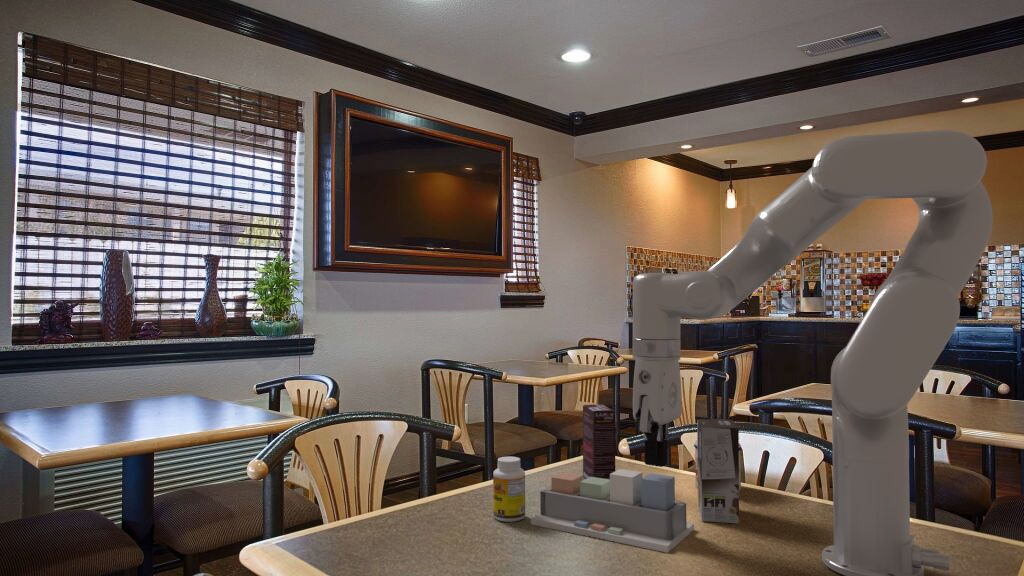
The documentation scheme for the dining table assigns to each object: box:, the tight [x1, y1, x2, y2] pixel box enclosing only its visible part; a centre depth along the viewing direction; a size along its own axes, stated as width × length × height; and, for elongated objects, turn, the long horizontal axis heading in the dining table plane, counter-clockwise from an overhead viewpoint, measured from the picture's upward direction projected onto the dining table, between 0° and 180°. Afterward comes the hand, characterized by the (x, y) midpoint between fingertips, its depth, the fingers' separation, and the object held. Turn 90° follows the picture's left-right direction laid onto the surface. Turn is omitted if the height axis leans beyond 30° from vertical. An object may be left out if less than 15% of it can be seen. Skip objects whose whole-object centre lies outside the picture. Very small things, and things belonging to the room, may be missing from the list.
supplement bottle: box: [492, 456, 526, 523], centre depth 118 cm, size 6×6×10 cm
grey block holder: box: [530, 485, 695, 554], centre depth 113 cm, size 24×12×5 cm, turn 57°
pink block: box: [551, 471, 583, 495], centre depth 117 cm, size 4×4×5 cm
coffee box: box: [696, 418, 740, 524], centre depth 119 cm, size 9×6×16 cm
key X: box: [610, 468, 643, 505], centre depth 111 cm, size 4×4×5 cm
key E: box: [580, 477, 610, 500], centre depth 114 cm, size 4×4×5 cm
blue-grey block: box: [641, 473, 676, 511], centre depth 108 cm, size 4×4×5 cm
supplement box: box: [582, 404, 616, 480], centre depth 138 cm, size 9×5×16 cm, turn 9°
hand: (655, 464), depth 109 cm, fingers closed
